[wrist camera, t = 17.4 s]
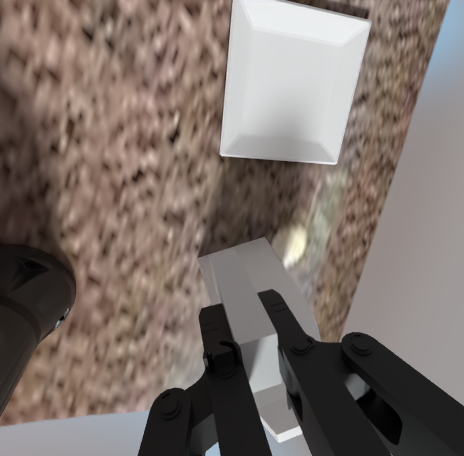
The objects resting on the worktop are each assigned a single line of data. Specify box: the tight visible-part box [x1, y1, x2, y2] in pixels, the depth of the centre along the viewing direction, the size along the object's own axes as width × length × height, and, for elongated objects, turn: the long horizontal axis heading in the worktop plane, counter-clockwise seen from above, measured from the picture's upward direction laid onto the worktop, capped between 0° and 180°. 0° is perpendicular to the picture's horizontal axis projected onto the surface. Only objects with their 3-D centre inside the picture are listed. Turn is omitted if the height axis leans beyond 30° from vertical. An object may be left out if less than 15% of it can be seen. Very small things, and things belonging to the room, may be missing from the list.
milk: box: [197, 237, 321, 443], centre depth 37 cm, size 12×12×26 cm
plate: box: [220, 0, 371, 165], centre depth 37 cm, size 19×19×2 cm
